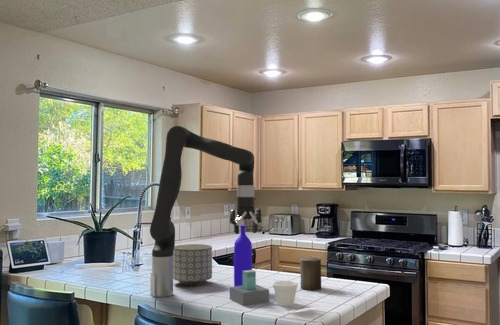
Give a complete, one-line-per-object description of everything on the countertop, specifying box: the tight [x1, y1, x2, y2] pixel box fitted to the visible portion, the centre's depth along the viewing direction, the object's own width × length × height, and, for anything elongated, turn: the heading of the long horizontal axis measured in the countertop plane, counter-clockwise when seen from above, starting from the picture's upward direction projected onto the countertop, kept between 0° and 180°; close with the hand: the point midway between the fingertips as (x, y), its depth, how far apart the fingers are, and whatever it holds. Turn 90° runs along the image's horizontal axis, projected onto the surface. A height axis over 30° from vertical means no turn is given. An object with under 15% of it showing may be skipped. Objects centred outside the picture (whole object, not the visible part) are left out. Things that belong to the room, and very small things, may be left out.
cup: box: [272, 280, 298, 307], centre depth 190 cm, size 10×10×9 cm
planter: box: [173, 243, 213, 287], centre depth 234 cm, size 19×19×18 cm
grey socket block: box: [229, 284, 270, 306], centre depth 196 cm, size 12×12×6 cm
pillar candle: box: [299, 256, 322, 291], centre depth 223 cm, size 10×10×15 cm
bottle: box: [233, 224, 253, 287], centre depth 217 cm, size 8×8×30 cm
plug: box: [243, 269, 257, 290], centre depth 196 cm, size 4×4×12 cm
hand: (245, 233), depth 206 cm, fingers open, 8 cm apart
